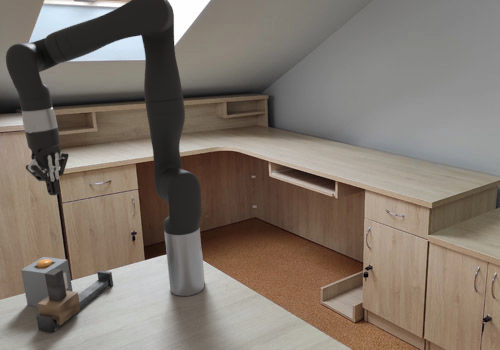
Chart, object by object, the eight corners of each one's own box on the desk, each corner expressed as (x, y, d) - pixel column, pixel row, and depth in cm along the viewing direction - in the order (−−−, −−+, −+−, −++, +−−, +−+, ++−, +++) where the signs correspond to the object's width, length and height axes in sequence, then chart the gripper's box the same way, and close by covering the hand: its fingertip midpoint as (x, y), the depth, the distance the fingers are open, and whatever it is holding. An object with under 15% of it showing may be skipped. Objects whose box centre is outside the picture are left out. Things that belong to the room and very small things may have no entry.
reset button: (46, 277, 127) (43, 258, 126) (57, 278, 126) (54, 259, 125) (37, 283, 124) (33, 264, 123) (48, 285, 123) (44, 265, 122)
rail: (101, 283, 134) (99, 270, 133) (113, 284, 133) (111, 271, 132) (38, 330, 112) (35, 315, 111) (52, 333, 111) (49, 318, 110)
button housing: (49, 289, 132) (43, 256, 129) (74, 293, 129) (69, 260, 126) (27, 304, 124) (20, 269, 122) (53, 309, 121) (47, 273, 119)
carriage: (61, 306, 120) (53, 263, 117) (80, 310, 118) (73, 266, 115) (40, 321, 114) (32, 276, 111) (61, 325, 112) (53, 279, 109)
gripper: (48, 122, 124) (60, 185, 129) (8, 133, 112) (23, 202, 117) (71, 122, 121) (83, 186, 126) (33, 133, 109) (47, 204, 114)
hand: (54, 194), depth 121 cm, fingers closed
